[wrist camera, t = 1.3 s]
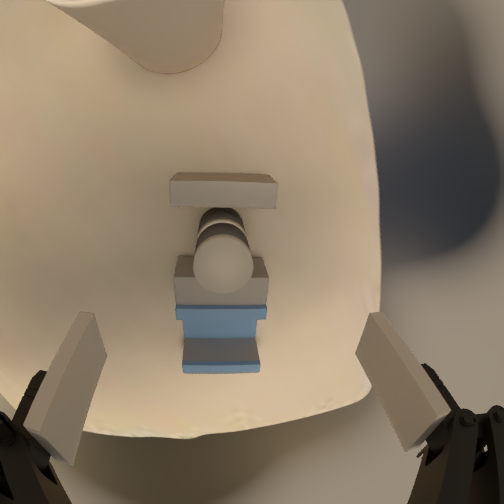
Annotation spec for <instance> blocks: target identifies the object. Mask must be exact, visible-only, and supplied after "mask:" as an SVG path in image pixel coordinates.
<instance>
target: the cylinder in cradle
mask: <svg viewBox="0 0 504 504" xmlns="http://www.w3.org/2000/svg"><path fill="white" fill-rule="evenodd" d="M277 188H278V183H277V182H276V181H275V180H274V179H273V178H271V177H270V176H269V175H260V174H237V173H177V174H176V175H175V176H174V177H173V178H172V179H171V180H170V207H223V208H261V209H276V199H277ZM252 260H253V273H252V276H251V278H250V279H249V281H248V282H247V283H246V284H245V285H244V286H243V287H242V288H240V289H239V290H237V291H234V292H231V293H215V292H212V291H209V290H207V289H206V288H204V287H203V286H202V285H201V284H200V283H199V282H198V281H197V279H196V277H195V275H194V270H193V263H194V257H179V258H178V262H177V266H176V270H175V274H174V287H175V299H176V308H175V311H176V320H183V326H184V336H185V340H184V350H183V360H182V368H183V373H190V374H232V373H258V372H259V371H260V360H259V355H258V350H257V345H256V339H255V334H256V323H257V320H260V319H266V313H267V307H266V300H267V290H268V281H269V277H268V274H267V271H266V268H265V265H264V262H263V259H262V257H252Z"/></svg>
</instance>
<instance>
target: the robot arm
mask: <svg viewBox="0 0 504 504" xmlns="http://www.w3.org/2000/svg"><path fill="white" fill-rule="evenodd" d="M355 354H356V356H357V358H358V360H359V361H360V363H361V365H362V367H363V369H364V371H365V373H366V375H367V377H368V379H369V380H370V382H371V384H372V386H373V388H374V390H375V392H376V394H377V396H378V398H379V400H380V402H381V404H382V406H383V408H384V410H385V412H386V414H387V415H388V418H389V420H390V422H391V424H392V426H393V428H394V430H395V432H396V434H397V436H398V438H399V440H400V442H401V445H402V447H403V449H404V451H405V452H407V451H410V450H412V449H414V448H417V447H419V446H420V445H421V444H422V443H423V442H424V441H425V440H426V441H427V443H428V444H427V445H426V446H425V447H424V448H423V449H422V450H421V452H419V453H418V455H417V457H420V456H421V455H422V454H423V457H422V461H421V464H420V468H419V471H418V474H417V477H416V481H415V484H414V486H413V489H412V492H411V495H410V498H409V500H408V503H407V504H504V408H503V407H501V406H498V405H495V406H493V407H491V409H490V410H489V411H488V412H487V413H484V414H474V413H473V412H472V411H470V410H468V409H460V407H459V406H458V405H457V403H456V402H455V400H454V399H453V397H452V396H451V394H450V393H449V391H448V390H447V388H446V387H445V386H444V385H443V382H442V381H441V380H440V379H439V377H438V375H437V374H436V373H435V371H434V370H433V369H432V368H431V367H429V366H428V365H427V364H420V363H419V362H418V360H417V359H416V357H415V356H414V354H413V353H412V351H411V350H410V349H409V347H408V346H407V344H406V343H405V342H404V340H403V339H402V338H401V336H400V335H399V334H398V332H397V331H396V330H395V328H394V327H393V326H392V324H391V323H390V322H389V320H388V319H387V318H386V316H385V315H384V314H383V312H374V313H369V316H368V319H367V322H366V325H365V328H364V331H363V334H362V336H361V339H360V342H359V344H358V347H357V350H356V352H355ZM106 358H107V354H106V351H105V348H104V345H103V341H102V338H101V335H100V332H99V329H98V325H97V322H96V318H95V315H94V313H87V312H80V313H79V315H78V317H77V318H76V320H75V322H74V323H73V325H72V327H71V329H70V330H69V332H68V334H67V336H66V337H65V339H64V341H63V343H62V345H61V346H60V348H59V350H58V352H57V354H56V356H55V358H54V360H53V361H52V363H51V365H50V367H49V369H48V371H47V372H46V371H42V370H40V371H39V372H38V373H37V374H36V375H34V376H33V377H32V379H31V381H30V383H29V385H28V389H26V391H25V393H24V396H23V397H22V400H21V402H20V404H19V406H18V408H17V410H16V413H15V415H14V417H13V419H12V421H11V420H10V419H9V418H8V416H7V415H6V414H5V413H3V412H1V411H0V504H72V503H71V501H70V500H69V498H68V496H67V494H66V492H65V490H64V488H63V487H62V485H61V483H60V481H59V479H58V477H57V475H56V473H55V470H54V469H53V466H52V465H51V463H50V462H49V459H50V456H52V457H53V458H54V459H55V460H56V461H57V462H60V463H63V464H66V465H70V466H73V464H74V460H75V456H76V452H77V448H78V444H79V441H80V437H81V434H82V430H83V427H84V423H85V420H86V417H87V413H88V410H89V407H90V404H91V401H92V398H93V395H94V392H95V389H96V386H97V383H98V380H99V377H100V374H101V371H102V369H103V366H104V363H105V360H106ZM486 445H487V449H488V450H487V451H486V452H485V451H484V447H485V446H486Z"/></svg>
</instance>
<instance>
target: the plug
mask: <svg viewBox="0 0 504 504" xmlns="http://www.w3.org/2000/svg"><path fill="white" fill-rule="evenodd" d="M193 270H194V275H195V277H196V279H197V281H198V282H199V283H200V284H201V285H202V286H203V287H204V288H206V289H207V290H209V291H212V292H215V293H231V292H234V291H237V290H239V289H240V288H242V287H243V286H244V285H245V284H246V283H247V282H248V281H249V279H250V278H251V276H252V273H253V260H252V256H251V252H250V249H249V245H248V241H247V237H246V233H245V230H244V226H243V222H242V219H241V217H240V215H239V214H238V213H237V212H236V211H235V210H233V209H232V208H223V207H213V208H211V209H209V210H208V211H207V212H206V213H205V214H204V215H203V216H202V218H201V221H200V225H199V231H198V237H197V243H196V250H195V256H194V263H193Z"/></svg>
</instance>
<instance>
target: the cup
mask: <svg viewBox="0 0 504 504" xmlns="http://www.w3.org/2000/svg"><path fill="white" fill-rule="evenodd" d="M46 1H47V2H48V3H50V4H52V5H53V6H55V7H57V8H58V9H60V10H61V11H63V12H65V13H66V14H68V15H69V16H71V17H72V18H74V19H76V20H77V21H79V22H80V23H82V24H83V25H85V26H86V27H88V28H89V29H91V30H92V31H94V32H95V33H96V34H98V35H99V36H101V37H102V38H104V39H105V40H107V41H108V42H109V43H111V44H112V45H114V46H115V47H116V48H118V49H119V50H120V51H122V52H123V53H125V54H126V55H127V56H129V57H130V58H131V59H133V60H134V61H135V62H137V63H138V64H139V65H141V66H142V67H143V68H145V69H147V70H150V71H152V72H156V73H162V74H173V73H179V72H183V71H187V70H189V69H192V68H194V67H196V66H197V65H199V64H201V63H202V62H204V61H205V60H206V59H207V58H208V57H209V56H210V55H211V54H212V53H213V52H214V50H215V49H216V47H217V46H218V44H219V41H220V38H221V34H222V22H223V8H224V0H46Z"/></svg>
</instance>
